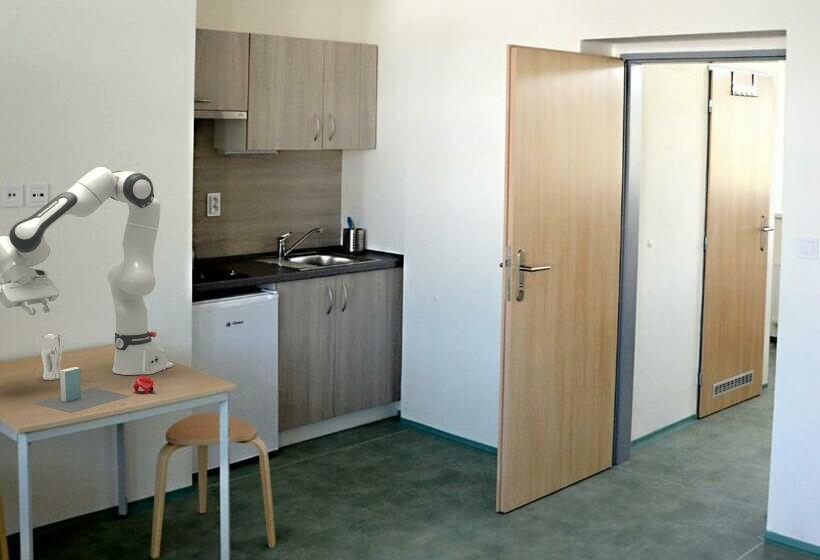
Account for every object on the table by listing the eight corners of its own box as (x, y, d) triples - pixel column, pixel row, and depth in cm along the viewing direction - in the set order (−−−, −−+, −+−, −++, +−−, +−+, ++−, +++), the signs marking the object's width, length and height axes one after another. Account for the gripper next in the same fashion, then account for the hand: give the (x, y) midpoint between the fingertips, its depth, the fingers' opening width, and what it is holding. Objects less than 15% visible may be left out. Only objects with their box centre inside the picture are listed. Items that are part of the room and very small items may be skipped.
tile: (76, 396, 333) (75, 366, 331) (81, 398, 331) (80, 367, 330) (61, 400, 328) (60, 370, 326) (66, 402, 326) (65, 371, 325)
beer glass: (43, 381, 353) (41, 338, 351) (40, 376, 360) (38, 334, 357) (64, 379, 357) (63, 337, 354) (61, 375, 363) (59, 333, 360)
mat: (92, 389, 344) (92, 387, 344) (130, 398, 335) (130, 396, 335) (32, 405, 324) (32, 403, 324) (71, 414, 315) (71, 412, 315)
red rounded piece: (146, 388, 336) (157, 375, 340) (131, 380, 337) (141, 368, 341) (147, 402, 341) (158, 390, 345) (132, 395, 343) (143, 383, 347)
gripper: (-4, 277, 326) (17, 311, 322) (49, 270, 343) (70, 302, 339) (-12, 289, 329) (9, 323, 325) (41, 282, 346) (61, 314, 342)
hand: (40, 312), depth 332 cm, fingers open, 4 cm apart
